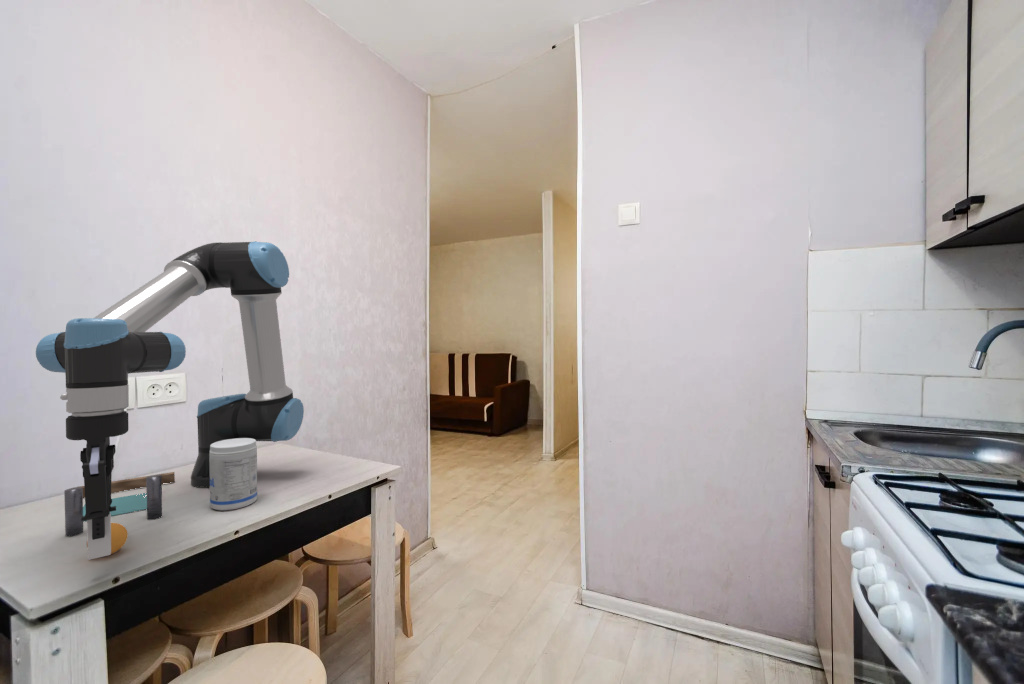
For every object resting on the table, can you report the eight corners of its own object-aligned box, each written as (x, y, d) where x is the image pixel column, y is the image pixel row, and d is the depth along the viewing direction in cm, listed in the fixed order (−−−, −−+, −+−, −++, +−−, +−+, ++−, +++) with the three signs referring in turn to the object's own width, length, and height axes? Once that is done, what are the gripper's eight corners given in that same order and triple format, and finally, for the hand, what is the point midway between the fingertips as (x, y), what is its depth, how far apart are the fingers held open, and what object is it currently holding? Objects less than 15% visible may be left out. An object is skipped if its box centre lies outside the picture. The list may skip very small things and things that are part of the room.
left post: (84, 529, 91) (83, 486, 91) (82, 534, 89) (81, 489, 89) (66, 533, 89) (65, 488, 89) (64, 537, 87) (63, 492, 87)
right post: (162, 514, 99) (161, 474, 99) (162, 517, 97) (161, 476, 97) (147, 517, 97) (146, 476, 97) (146, 520, 95) (145, 479, 95)
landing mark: (160, 491, 114) (160, 490, 114) (159, 507, 103) (159, 506, 103) (85, 504, 105) (85, 503, 105) (75, 523, 94) (75, 522, 94)
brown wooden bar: (174, 480, 122) (174, 471, 122) (174, 482, 121) (174, 473, 121) (73, 497, 110) (73, 487, 110) (72, 499, 108) (71, 489, 108)
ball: (129, 544, 84) (128, 515, 84) (126, 555, 80) (126, 524, 80) (89, 553, 81) (88, 523, 81) (84, 565, 77) (84, 533, 77)
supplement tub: (206, 503, 105) (205, 442, 105) (252, 493, 111) (250, 435, 111) (214, 515, 98) (213, 449, 98) (262, 504, 104) (261, 441, 104)
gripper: (72, 410, 76) (74, 548, 76) (57, 420, 65) (59, 580, 65) (130, 405, 80) (132, 535, 80) (125, 414, 70) (126, 563, 70)
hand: (99, 555), depth 73 cm, fingers closed
